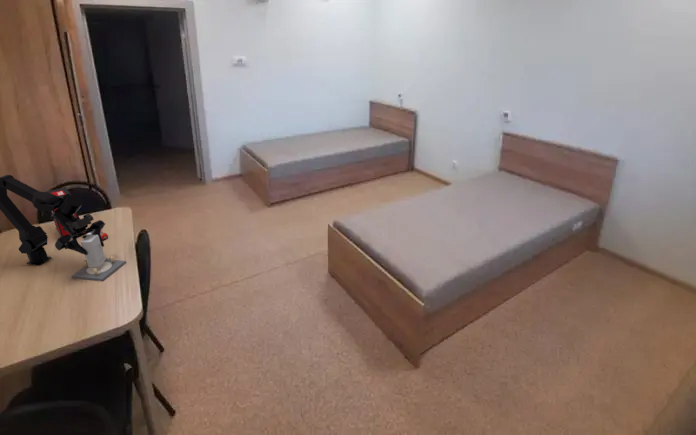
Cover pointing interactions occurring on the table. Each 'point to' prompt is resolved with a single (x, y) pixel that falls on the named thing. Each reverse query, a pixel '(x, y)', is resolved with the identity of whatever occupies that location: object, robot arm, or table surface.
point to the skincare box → (93, 250)
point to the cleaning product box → (58, 193)
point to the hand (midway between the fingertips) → (95, 250)
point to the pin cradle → (99, 270)
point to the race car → (103, 235)
